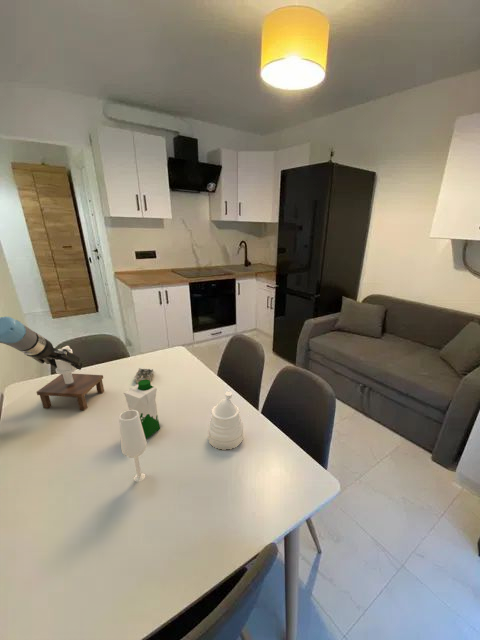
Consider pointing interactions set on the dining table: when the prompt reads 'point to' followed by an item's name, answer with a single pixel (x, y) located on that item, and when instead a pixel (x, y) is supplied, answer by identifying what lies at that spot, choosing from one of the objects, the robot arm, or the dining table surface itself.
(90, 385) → the low table
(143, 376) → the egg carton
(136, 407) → the milk carton
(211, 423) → the honey pot
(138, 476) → the champagne flute
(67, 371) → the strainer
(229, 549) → the dining table surface
